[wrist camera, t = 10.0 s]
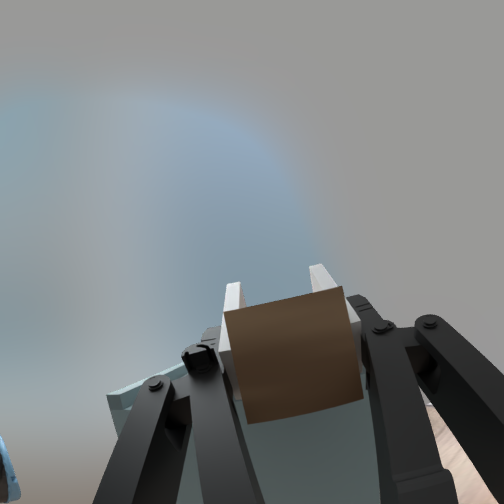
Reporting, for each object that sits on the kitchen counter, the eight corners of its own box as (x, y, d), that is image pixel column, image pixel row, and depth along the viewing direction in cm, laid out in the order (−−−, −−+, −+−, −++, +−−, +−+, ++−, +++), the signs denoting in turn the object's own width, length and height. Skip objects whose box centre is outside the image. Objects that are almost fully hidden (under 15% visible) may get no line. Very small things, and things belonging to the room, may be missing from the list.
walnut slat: (364, 398, 9) (341, 285, 10) (247, 424, 9) (223, 312, 10) (301, 338, 37) (295, 308, 38) (271, 345, 37) (264, 315, 38)
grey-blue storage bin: (211, 617, 11) (106, 394, 18) (234, 533, 31) (185, 360, 38) (377, 599, 10) (363, 355, 17) (349, 516, 30) (320, 335, 37)
